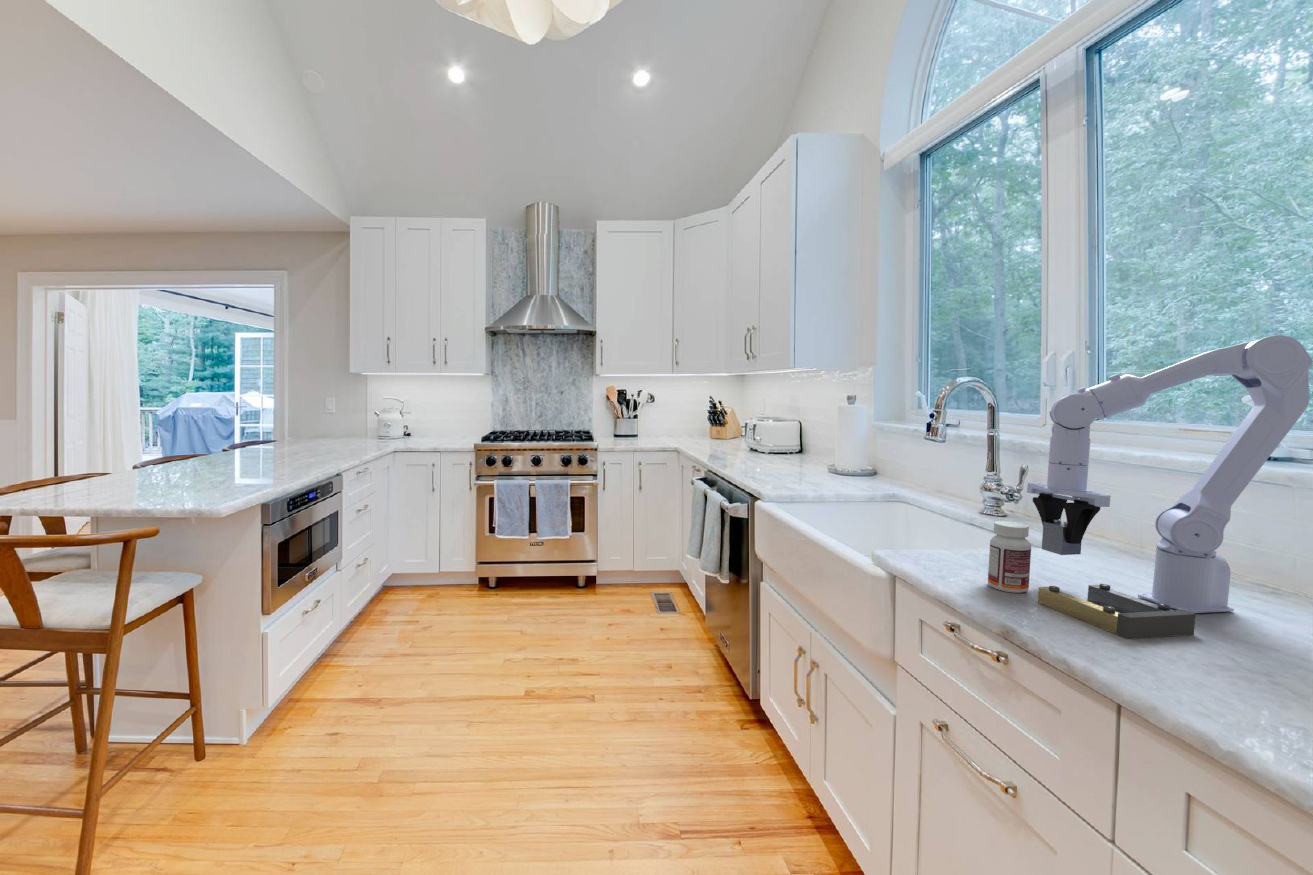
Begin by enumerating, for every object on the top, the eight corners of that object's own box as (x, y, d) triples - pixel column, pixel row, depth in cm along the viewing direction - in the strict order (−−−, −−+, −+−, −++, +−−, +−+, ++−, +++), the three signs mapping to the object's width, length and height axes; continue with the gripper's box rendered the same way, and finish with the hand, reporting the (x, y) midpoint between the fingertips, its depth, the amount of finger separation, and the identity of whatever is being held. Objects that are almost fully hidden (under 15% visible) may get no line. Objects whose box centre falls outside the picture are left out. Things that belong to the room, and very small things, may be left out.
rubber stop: (1181, 630, 83) (1183, 609, 83) (1193, 634, 82) (1195, 613, 81) (1116, 634, 81) (1117, 613, 81) (1127, 638, 79) (1129, 617, 79)
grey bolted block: (1060, 548, 104) (1062, 518, 104) (1080, 554, 100) (1082, 523, 100) (1041, 549, 103) (1043, 518, 103) (1061, 555, 100) (1063, 523, 99)
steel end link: (1096, 599, 96) (1097, 581, 96) (1181, 630, 83) (1183, 609, 83) (1087, 599, 95) (1088, 581, 95) (1171, 630, 83) (1173, 609, 83)
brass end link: (1047, 601, 94) (1048, 582, 94) (1126, 633, 81) (1128, 612, 81) (1037, 601, 94) (1039, 583, 93) (1116, 634, 81) (1118, 612, 81)
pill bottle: (1035, 590, 100) (1039, 525, 99) (1017, 596, 96) (1021, 529, 95) (998, 580, 105) (1002, 519, 104) (980, 585, 101) (984, 522, 101)
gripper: (1015, 459, 107) (1010, 530, 108) (1087, 468, 93) (1081, 551, 94) (1047, 459, 109) (1042, 530, 110) (1123, 468, 94) (1116, 550, 95)
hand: (1062, 540), depth 102 cm, fingers closed on grey bolted block, 4 cm apart
